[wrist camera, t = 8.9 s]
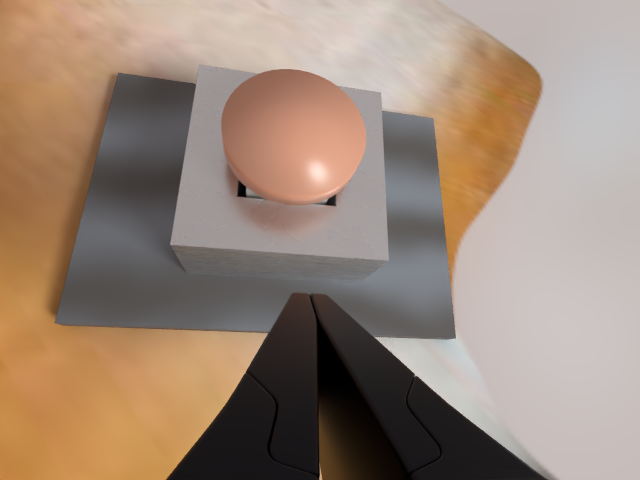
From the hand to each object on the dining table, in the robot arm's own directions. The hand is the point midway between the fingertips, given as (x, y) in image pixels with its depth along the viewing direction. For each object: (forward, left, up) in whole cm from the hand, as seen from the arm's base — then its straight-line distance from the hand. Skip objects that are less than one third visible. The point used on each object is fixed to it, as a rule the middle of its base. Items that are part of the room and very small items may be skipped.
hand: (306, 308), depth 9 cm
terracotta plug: (+6, +7, -11) cm, 14 cm away
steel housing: (+6, +7, -12) cm, 15 cm away
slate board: (+6, +7, -13) cm, 16 cm away
